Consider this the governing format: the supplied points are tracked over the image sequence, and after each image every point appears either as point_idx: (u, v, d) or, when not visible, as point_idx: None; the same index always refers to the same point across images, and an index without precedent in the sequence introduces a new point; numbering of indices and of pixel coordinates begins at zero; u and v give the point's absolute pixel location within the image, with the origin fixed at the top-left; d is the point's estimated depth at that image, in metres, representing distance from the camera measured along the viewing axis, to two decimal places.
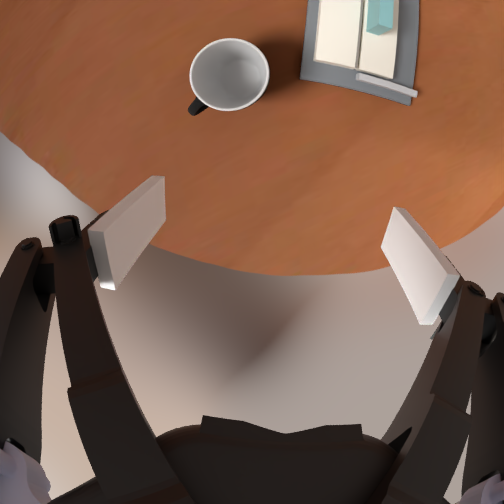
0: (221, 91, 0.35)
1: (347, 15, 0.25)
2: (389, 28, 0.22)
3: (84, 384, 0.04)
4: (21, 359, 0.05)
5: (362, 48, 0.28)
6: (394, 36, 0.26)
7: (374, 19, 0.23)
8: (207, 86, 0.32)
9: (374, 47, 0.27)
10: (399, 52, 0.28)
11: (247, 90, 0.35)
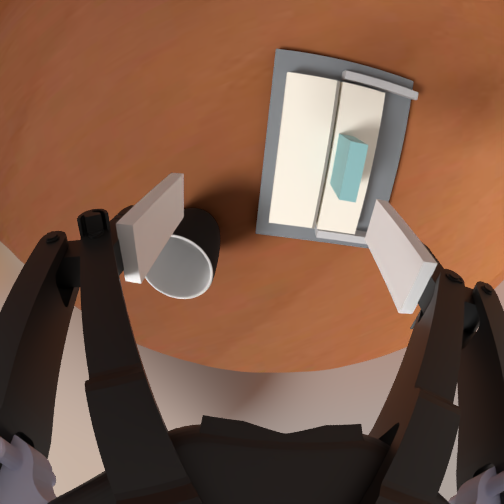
0: (179, 242, 0.40)
1: (309, 164, 0.30)
2: None
3: (103, 378, 0.04)
4: (38, 353, 0.06)
5: (323, 205, 0.33)
6: (364, 183, 0.31)
7: (337, 182, 0.28)
8: (163, 250, 0.37)
9: (337, 202, 0.32)
10: (371, 192, 0.34)
11: None
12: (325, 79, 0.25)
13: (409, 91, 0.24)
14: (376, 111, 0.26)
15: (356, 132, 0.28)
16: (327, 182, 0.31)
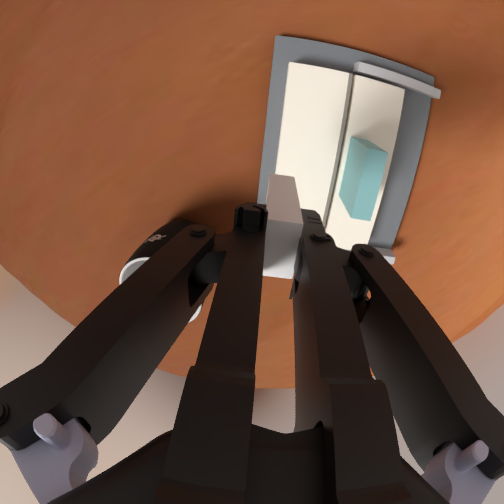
0: None
1: (314, 172, 0.26)
2: None
3: (210, 370, 0.05)
4: (139, 349, 0.07)
5: (330, 219, 0.28)
6: (378, 195, 0.26)
7: (349, 196, 0.23)
8: None
9: (347, 216, 0.28)
10: (384, 204, 0.29)
11: None
12: (335, 71, 0.20)
13: (431, 88, 0.20)
14: (394, 111, 0.21)
15: (371, 135, 0.23)
16: (335, 193, 0.26)
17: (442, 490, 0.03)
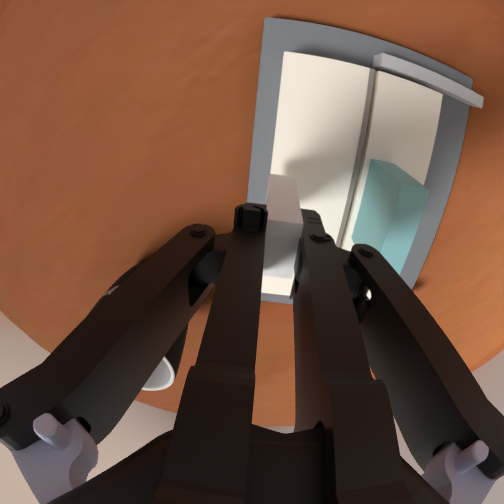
0: None
1: (320, 208, 0.19)
2: None
3: (210, 370, 0.05)
4: (139, 349, 0.07)
5: None
6: None
7: None
8: None
9: None
10: None
11: None
12: (350, 65, 0.14)
13: (472, 94, 0.13)
14: (429, 123, 0.15)
15: (398, 157, 0.16)
16: (347, 235, 0.20)
17: (442, 490, 0.03)
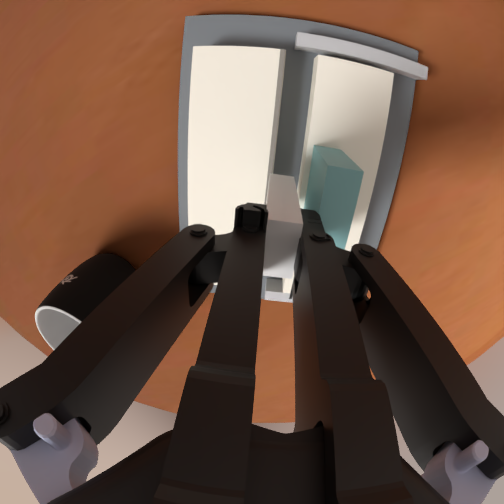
0: None
1: (239, 196, 0.19)
2: None
3: (210, 370, 0.05)
4: (139, 349, 0.07)
5: None
6: (358, 226, 0.19)
7: None
8: None
9: None
10: None
11: None
12: (258, 49, 0.14)
13: (413, 65, 0.13)
14: (379, 104, 0.15)
15: (344, 142, 0.16)
16: None
17: (442, 490, 0.03)
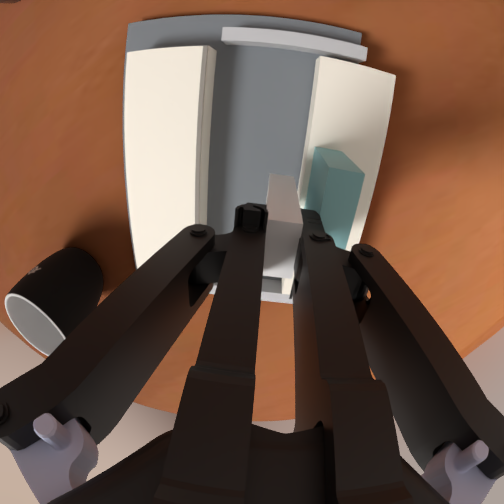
0: None
1: (172, 191, 0.19)
2: None
3: (210, 370, 0.05)
4: (139, 349, 0.07)
5: None
6: (358, 228, 0.19)
7: None
8: None
9: None
10: None
11: None
12: (183, 48, 0.14)
13: (349, 46, 0.13)
14: (380, 107, 0.15)
15: (345, 144, 0.16)
16: None
17: (442, 490, 0.03)
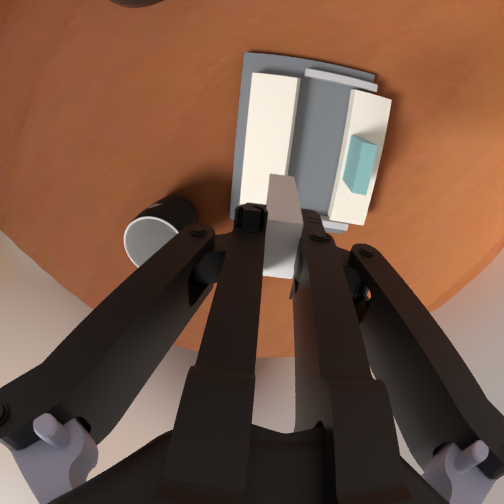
0: (162, 228, 0.44)
1: (273, 154, 0.34)
2: None
3: (210, 370, 0.05)
4: (139, 349, 0.07)
5: (335, 198, 0.36)
6: (372, 180, 0.34)
7: (350, 178, 0.31)
8: (147, 234, 0.40)
9: (348, 195, 0.36)
10: None
11: None
12: (286, 77, 0.28)
13: (368, 84, 0.28)
14: (383, 116, 0.29)
15: (366, 134, 0.31)
16: (340, 178, 0.34)
17: (442, 490, 0.03)
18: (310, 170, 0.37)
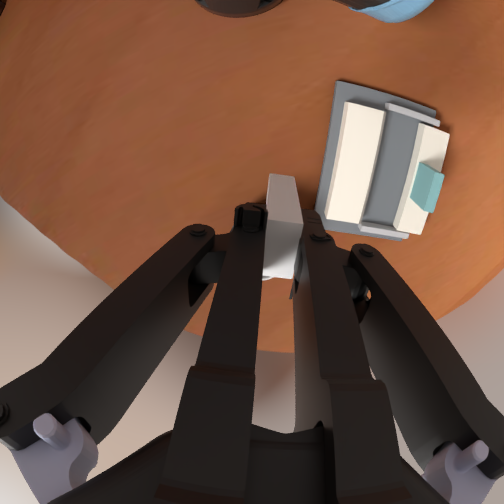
0: None
1: (360, 174, 0.38)
2: None
3: (210, 370, 0.05)
4: (139, 349, 0.07)
5: (403, 212, 0.40)
6: None
7: (420, 198, 0.35)
8: None
9: (412, 210, 0.40)
10: None
11: None
12: (375, 110, 0.33)
13: (433, 120, 0.32)
14: (443, 147, 0.34)
15: (429, 162, 0.35)
16: (408, 196, 0.39)
17: (442, 490, 0.03)
18: (383, 188, 0.41)
